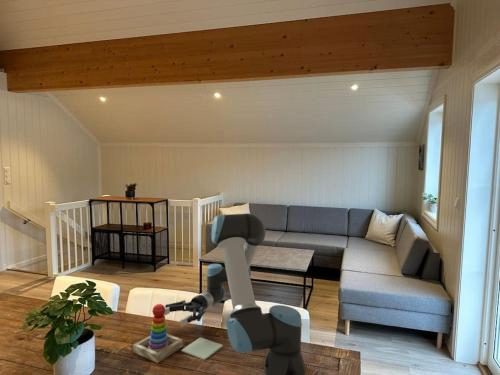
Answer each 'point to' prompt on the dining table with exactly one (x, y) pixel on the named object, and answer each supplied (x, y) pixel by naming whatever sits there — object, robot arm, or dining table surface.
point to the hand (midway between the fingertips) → (169, 319)
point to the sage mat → (202, 348)
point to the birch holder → (158, 356)
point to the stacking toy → (158, 329)
